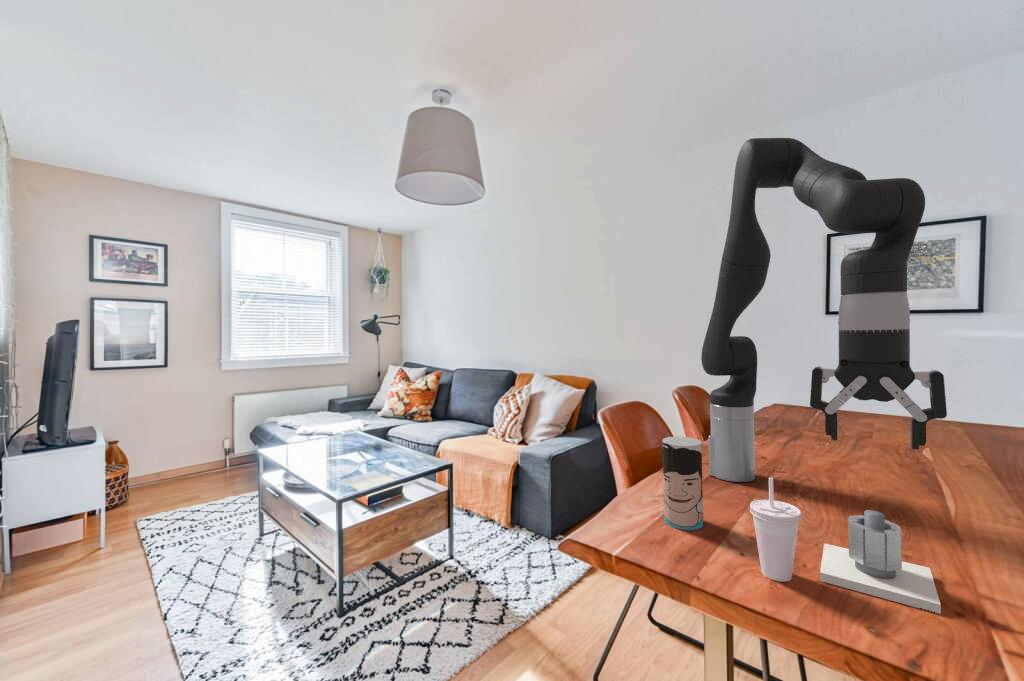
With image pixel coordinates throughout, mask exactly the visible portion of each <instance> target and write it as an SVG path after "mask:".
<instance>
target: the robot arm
mask: <svg viewBox="0 0 1024 681" xmlns="http://www.w3.org/2000/svg"><path fill="white" fill-rule="evenodd" d="M732 185H733V187H732V196H731V205H730V214H729V221H728V227H727V231H726V232H727V233H726V238H725V243H724V248H723V252H722V257H721V261H720V267H719V272H718V279H717V280H718V281H717V287H716V292H715V298H714V302H713V307H712V311H711V315H710V319H709V322H708V326H707V329H706V333H705V337H704V340H703V344H702V348H701V365H702V368H703V370H704V372H705V373H706V374H707V375H709V376H717V377H719V376H721V377H722V376H726V377H727V376H729V379H728V380H727V382H726V383H724V384H723V385H722V386H720V387H717V388H716V389H713V390H712V391H711V392H710V394H709V405H710V406H709V411H710V435H708V440H707V441H708V476H710V475H711V476H712V477H714V476H715V478H717V479H719V480H723V481H727V482H733V483H749V482H752V481H754V480H756V466H755V464H756V462H755V461H756V459H755V458H756V455H755V453H756V452H755V448H756V447H755V414H754V413H755V408H754V407H755V406H754V405H755V404H754V402H755V396H756V392H757V382H758V381H757V378H758V351H757V347H756V345H755V342H754V340H753V339H751V338H750V337H749V336H746V335H736V336H735V335H732V336H731V334H732V331H733V328H734V326H735V324H736V322H737V320H738V319H739V317H740V316H741V315H742V313H743V312H744V311H745V310H746V309H747V308H748V307H749V306H750V305H751V303H752V302H753V301H754V300H755V299H756V298H757V297H758V295H759V294H760V293H761V291H762V290H763V288H764V286H765V283H766V280H767V275H768V272H769V271H768V270H769V267H770V263H771V249H770V246H769V243H768V241H767V239H766V236H765V234H764V232H763V229H762V228H761V226H760V224H759V221H758V217H757V214H756V194H757V189H778V188H783V187H784V188H785V187H787V188H792V189H793V190H792V191H793V193H794V196H795V198H796V199H797V200H799V202H801V203H802V204H804V205H805V206H807V207H808V208H811V209H813V210H815V211H816V212H817V213H818V215H819V216H820V218H821V219H822V221H823V223H824V225H825V226H826V227H827V229H829V230H831V231H833V232H835V233H840V234H844V235H853V234H854V235H856V234H857V235H858V234H874V233H875V236H874V239H873V242H872V243H871V245H870V247H869V248H867V249H862V250H859V251H855V252H852V253H849V254H847V255H845V256H844V257H843V258H842V260H841V263H840V298H839V299H840V300H839V301H840V302H839V305H838V306H839V307H838V321H837V325H838V365H837V366H836V368H823V367H821V366H815V367H814V368H813V369H812V371H811V381H810V382H811V384H810V401H809V406H810V407H811V408H812V409H816V410H819V411H821V412H822V413H823V414H824V417H825V418H824V419H825V420H824V424H825V429H824V430H825V434H826V436H830V438H831V440H833V441H838V438H839V431H838V430H839V429H838V428H839V424H838V422H839V421H838V420H839V419H838V418H839V417H838V415H839V414H838V412H837V411H838V410H839V409H840V408H841V407H842V406H843V405H845V404H846V403H847V402H848V401H849V400H850V399H851V398H852V397H853V398H854V399H857V400H858V401H871V400H873V401H877V402H882V403H883V402H884V403H889V402H890V401H894V400H896V401H897V402H898V403H899V404H900V406H902V407H903V408H904V409H905V410H906V411H907V412H908V414H910V415H911V416H912V418H910V420H909V421H910V423H909V424H910V432H909V433H910V434H909V435H910V441H909V442H910V448H911V450H917V451H919V450H920V446H921V447H925V446H926V443H927V423H928V422H929V421H931V420H937V419H945V418H946V417H947V416H948V411H947V399H946V398H947V397H946V389H945V388H946V387H945V376H944V374H943V373H942V372H941V371H940V370H937V369H933V370H930V371H913V369H912V367H911V358H910V357H911V356H910V355H911V354H910V352H911V347H910V346H911V345H910V344H911V343H910V341H911V340H910V339H911V330H910V329H911V328H910V326H911V318H910V316H911V315H910V314H911V310H910V309H911V308H910V304H909V298H908V260H909V257H910V255H911V251H912V248H913V246H914V243H915V239H916V236H917V233H918V231H919V230H918V229H919V227H920V225H921V222H922V219H923V216H924V214H925V209H926V196H925V193H924V190H923V188H922V186H920V184H919V183H918V182H916V181H915V180H913V179H911V178H909V177H908V178H906V177H895V178H892V177H891V178H878V179H867V178H866V176H865V175H864V174H863V173H862V172H860V171H859V170H857V169H855V168H852V167H850V166H847V165H845V164H841V163H837V162H835V161H834V162H833V161H831V160H828V159H825V158H824V157H822V156H821V155H819V154H817V153H816V152H815V151H813V150H812V149H811V148H810V147H809V146H807V144H805V143H804V142H802V141H800V140H798V139H795V138H791V137H756V138H755V137H752V138H748V139H747V140H746V141H745V142H744V143H743V144H742V146H741V147H740V150H739V153H738V155H737V159H736V163H735V169H734V178H733V184H732ZM832 377H835V379H836V380H837V381H838V382H839V384H840V385H841V386H842V387H843V388H841V390H840V391H839V392H838V393H837V394H835V396H834V397H833V398H832V399H831V400H830V401H829V402H828V401H825V400H822V396H823V394H822V393H823V384H826V383H827V384H828V382H829V381H830V378H832ZM915 380H916V381H920V384H921V385H922V387H924V388H926V389H929V391H928V392H929V400H930V402H929V403H930V407H928V408H923V409H922V408H921V407H920V406H919V405H918V404H917V403H916V402H915V401H914V400H913V399H912V398H911V397H910V396H909V395H908V394H907V392H905V390H906V389H908V387H909V386H911V385H912V384H913V382H914V381H915ZM711 476H710V477H711Z"/></svg>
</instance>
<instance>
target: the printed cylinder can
mask: <svg viewBox="0 0 1024 681" xmlns="http://www.w3.org/2000/svg"><path fill="white" fill-rule="evenodd" d="M661 444H662V482H663V483H662V484H663V486H662V487H663V522H666V523H667V524H666V523H665V524H666V525H667V526H669V525H670V527H671V528H674V529H677V530H678V529H679V530H680V531H681V530H683V531H696V530H699V529H701V528H703V526H704V505H703V504H704V502H703V494H704V492H703V456H702V455H703V453H702V447H703V446H702V444H703V443H702V441H701V440H700V439H696V438H694V437H688V436H668V437H665V438H664V437H663V439H662V442H661Z"/></svg>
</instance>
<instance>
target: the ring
mask: <svg viewBox="0 0 1024 681" xmlns="http://www.w3.org/2000/svg"><path fill="white" fill-rule="evenodd" d="M847 521H848V549H849V557H850V558H852V559H853V560H855V561H857V562H859V563H860V564H862V565H866V566H867V567H872V568H876V569H880V570H884V571H885V570H887V571H893V570H901V569H902V561H903V558H902V557H903V556H902V555H903V553H902V547H903V545H902V544H903V543H902V540H903V538H902V535H903V534H902V528H901V526H900V525H898V524H897V523H894V522H892V521H890V520H887V519H885V530H877V529H872V528H867V527H865V526H864V514H860V515H859V514H858V515H857V514H856V515H849V516H848V520H847Z"/></svg>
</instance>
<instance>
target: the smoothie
mask: <svg viewBox="0 0 1024 681" xmlns="http://www.w3.org/2000/svg"><path fill="white" fill-rule="evenodd" d="M774 497H775V495H774V478H773V477H768V499H757V500H753V501H751V502H750V503H749V512H750V513H751V515H752V517H753V518H752V519H753V525H754V533H755V536H756V538H755V539H756V545H757V552H758V557H759V558H758V559H759V563H760V571H761V573H762V575H763V576H765V577H766V578H768V579H770V580H772V581H776V582H783V583H784V582H785V583H786V582H790V581H791V580H792V576H793V569H794V564H795V563H794V560H795V554H796V553H795V552H796V547H797V540H798V533H799V532H798V531H799V525H800V523H801V522H802V521H803V517H802V511H801V510H800V508H798V507H796V506H795V505H793V504H792V503H791V504H790V503H789V502H788V503H787V502H785V501H784V502H783V501H780V500H775V499H774Z"/></svg>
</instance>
